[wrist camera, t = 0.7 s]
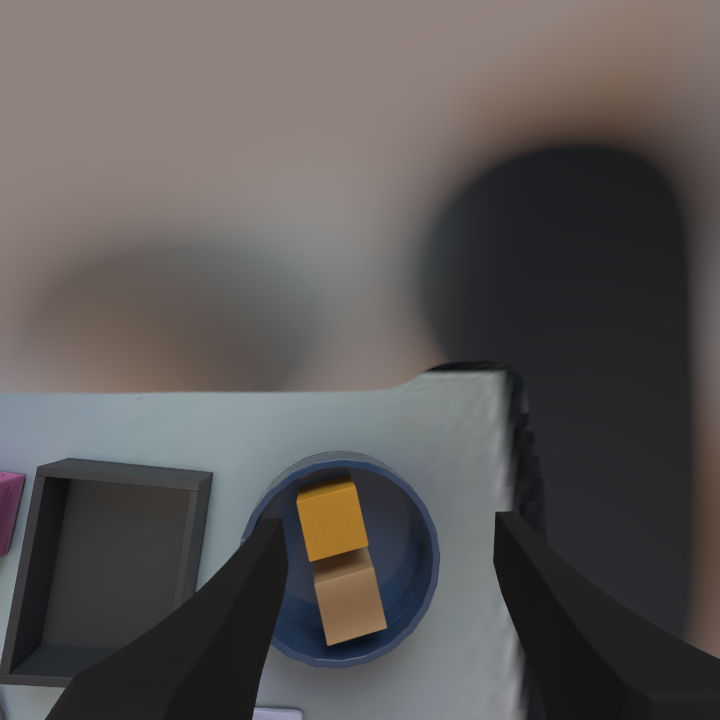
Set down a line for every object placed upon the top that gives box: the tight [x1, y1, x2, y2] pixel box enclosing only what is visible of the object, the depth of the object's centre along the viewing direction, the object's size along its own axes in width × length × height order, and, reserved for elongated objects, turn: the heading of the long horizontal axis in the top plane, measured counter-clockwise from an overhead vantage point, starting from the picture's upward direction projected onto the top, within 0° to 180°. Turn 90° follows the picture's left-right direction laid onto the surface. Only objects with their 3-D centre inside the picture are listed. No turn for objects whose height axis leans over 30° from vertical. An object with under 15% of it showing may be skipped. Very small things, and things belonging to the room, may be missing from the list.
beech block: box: [314, 546, 387, 646], centre depth 29 cm, size 4×4×4 cm
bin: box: [0, 458, 213, 688], centre depth 28 cm, size 13×10×4 cm
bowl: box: [240, 451, 440, 668], centre depth 30 cm, size 13×13×4 cm
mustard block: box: [296, 475, 369, 562], centre depth 29 cm, size 4×4×4 cm
